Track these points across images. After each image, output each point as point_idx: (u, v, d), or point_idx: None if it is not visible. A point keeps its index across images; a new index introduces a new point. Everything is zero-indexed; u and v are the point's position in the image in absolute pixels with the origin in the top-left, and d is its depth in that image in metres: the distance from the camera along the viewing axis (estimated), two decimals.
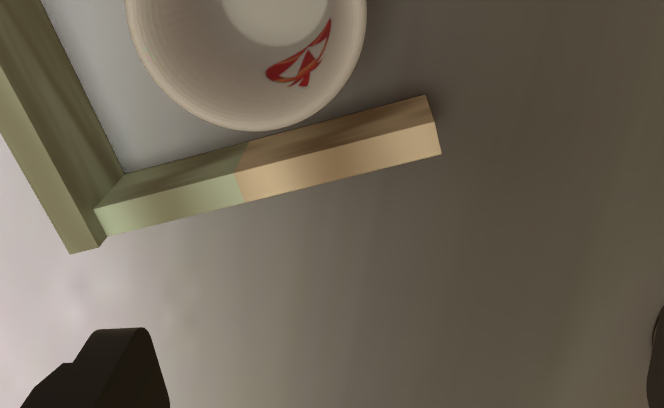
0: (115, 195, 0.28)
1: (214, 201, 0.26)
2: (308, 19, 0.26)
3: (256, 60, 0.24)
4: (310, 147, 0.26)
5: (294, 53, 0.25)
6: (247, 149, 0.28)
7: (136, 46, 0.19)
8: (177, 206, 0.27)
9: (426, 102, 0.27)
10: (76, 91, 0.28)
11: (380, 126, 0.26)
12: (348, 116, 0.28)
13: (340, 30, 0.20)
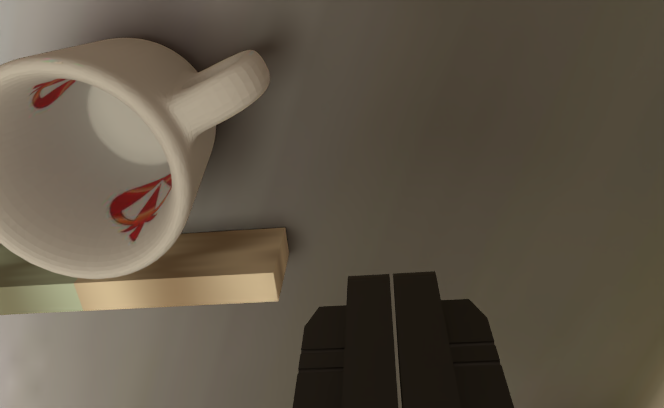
0: None
1: (52, 304, 0.26)
2: None
3: (109, 183, 0.25)
4: (155, 270, 0.26)
5: (150, 181, 0.25)
6: None
7: None
8: (14, 303, 0.26)
9: (280, 240, 0.27)
10: None
11: (227, 261, 0.26)
12: (208, 234, 0.29)
13: (169, 200, 0.20)
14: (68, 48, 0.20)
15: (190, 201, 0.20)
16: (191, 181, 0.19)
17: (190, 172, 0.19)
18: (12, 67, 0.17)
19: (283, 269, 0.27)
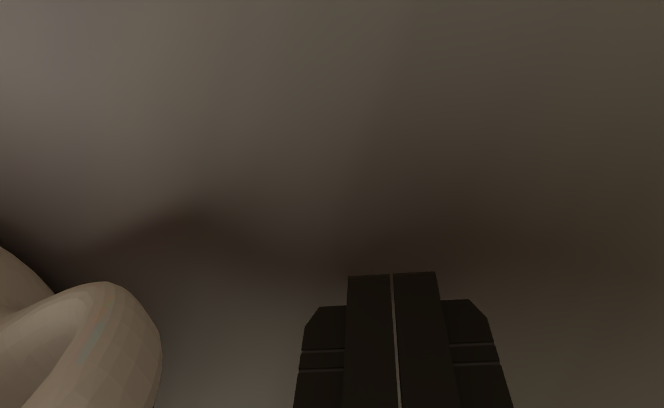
0: None
1: None
2: None
3: None
4: None
5: None
6: None
7: None
8: None
9: None
10: None
11: None
12: None
13: None
14: None
15: None
16: None
17: None
18: None
19: None
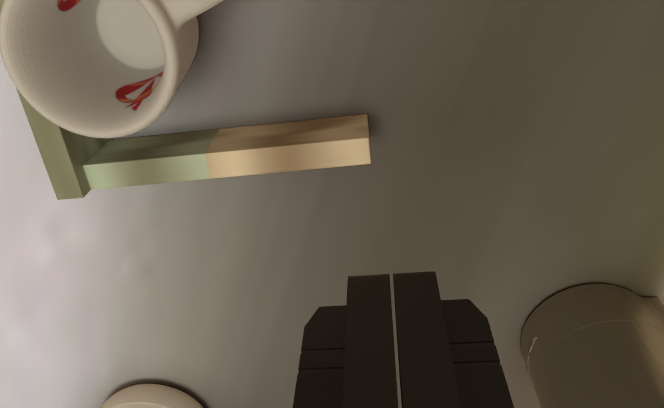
0: (102, 156, 0.33)
1: (185, 174, 0.32)
2: None
3: (114, 79, 0.31)
4: (269, 142, 0.32)
5: (146, 78, 0.32)
6: (217, 135, 0.34)
7: (3, 60, 0.26)
8: (154, 173, 0.33)
9: (366, 121, 0.34)
10: None
11: (327, 134, 0.32)
12: (303, 121, 0.35)
13: (162, 75, 0.27)
14: None
15: (178, 72, 0.26)
16: (178, 56, 0.26)
17: (178, 49, 0.26)
18: None
19: (369, 144, 0.33)
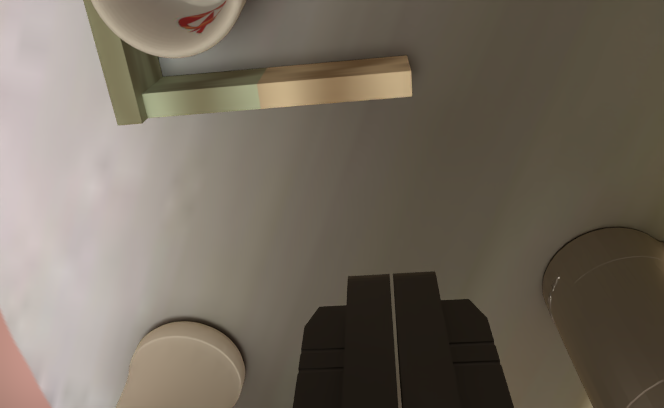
0: (159, 87, 0.36)
1: (237, 103, 0.35)
2: None
3: (175, 11, 0.33)
4: (317, 75, 0.34)
5: (204, 12, 0.34)
6: (266, 72, 0.37)
7: None
8: (208, 103, 0.35)
9: (406, 59, 0.36)
10: None
11: (371, 69, 0.34)
12: (346, 61, 0.37)
13: None
14: None
15: None
16: None
17: None
18: None
19: None
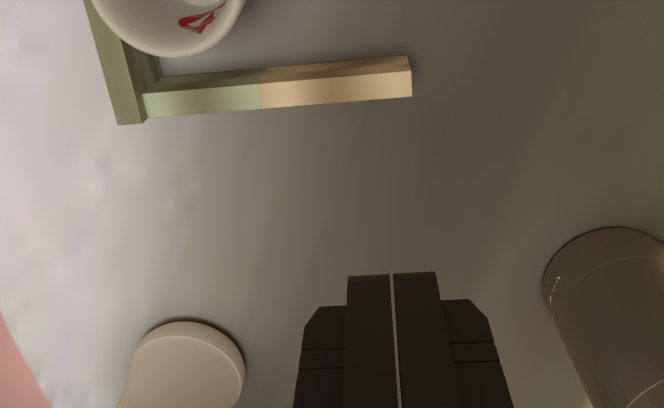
0: (159, 87, 0.36)
1: (237, 103, 0.35)
2: None
3: (175, 11, 0.33)
4: (317, 75, 0.34)
5: (204, 12, 0.34)
6: (266, 72, 0.37)
7: None
8: (208, 103, 0.35)
9: (406, 59, 0.36)
10: None
11: (371, 69, 0.34)
12: (346, 61, 0.37)
13: None
14: None
15: None
16: None
17: None
18: None
19: None
